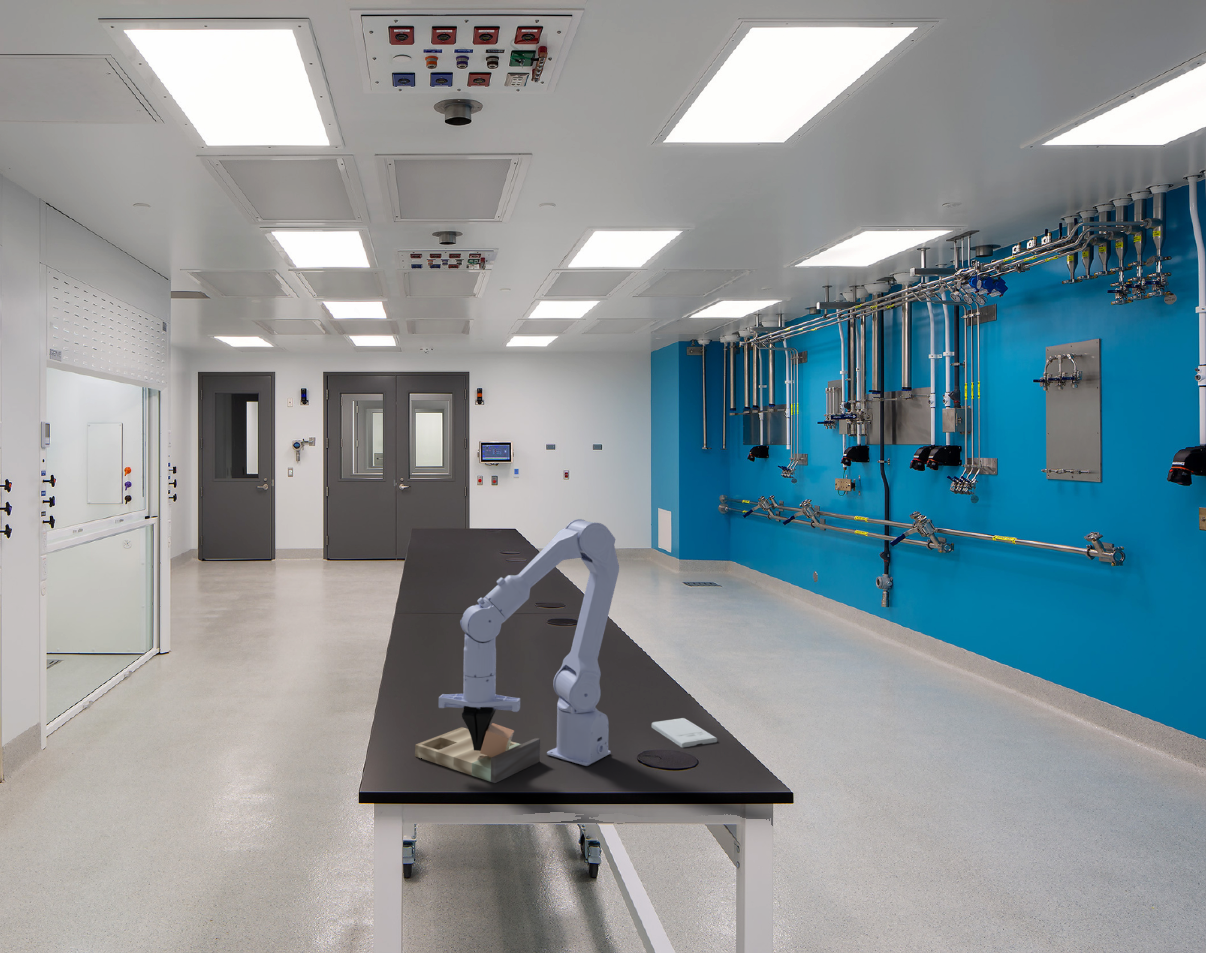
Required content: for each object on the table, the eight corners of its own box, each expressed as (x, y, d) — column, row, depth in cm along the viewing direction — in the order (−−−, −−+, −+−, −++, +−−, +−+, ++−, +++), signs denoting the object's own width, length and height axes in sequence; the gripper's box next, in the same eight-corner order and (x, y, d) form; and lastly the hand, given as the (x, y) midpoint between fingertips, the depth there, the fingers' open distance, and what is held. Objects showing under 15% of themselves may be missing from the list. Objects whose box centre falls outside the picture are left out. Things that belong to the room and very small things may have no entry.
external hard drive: (685, 725, 165) (717, 744, 154) (651, 730, 162) (681, 750, 150) (685, 717, 165) (717, 736, 154) (651, 722, 162) (681, 742, 150)
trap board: (539, 761, 142) (540, 739, 142) (495, 783, 132) (495, 759, 132) (461, 738, 154) (461, 717, 154) (415, 756, 144) (415, 734, 144)
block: (507, 752, 141) (514, 730, 141) (502, 761, 137) (508, 738, 136) (486, 744, 141) (492, 723, 141) (479, 753, 137) (486, 730, 137)
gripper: (524, 669, 142) (523, 742, 142) (447, 665, 143) (446, 738, 144) (515, 679, 135) (514, 757, 135) (434, 676, 136) (434, 752, 137)
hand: (478, 748), depth 139 cm, fingers closed
